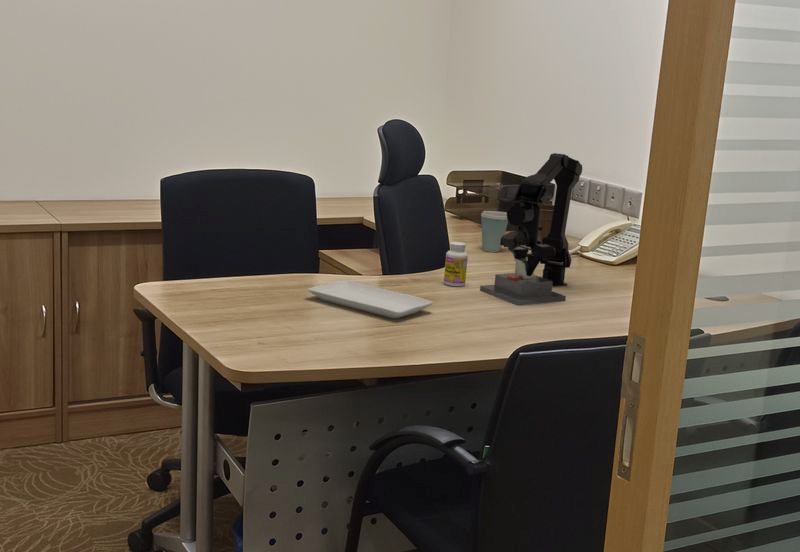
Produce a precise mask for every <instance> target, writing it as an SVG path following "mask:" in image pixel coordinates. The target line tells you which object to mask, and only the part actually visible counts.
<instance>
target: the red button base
mask: <svg viewBox="0 0 800 552" xmlns="http://www.w3.org/2000/svg"><path fill="white" fill-rule="evenodd" d="M552 284H553V281H551V280H548V279H545V278H542V276H539V275H535V274H534V279H530V280H521V279H519V277H516V276H515V272H512V273H497V274H495V278H494V284H488V285H487V284H486V285H480V286H479V291H480V292H482V293H485V294H487V295H489V296H492V297H496V298H499V299H501V300H504V301H505V302H509V303H511V304H513V305H516V306H525V305H537V304H538V305H539V304H546V303H558V302H566V299H567V298H566V295H564V294H562V293H558V292H555V291H553V286H552Z"/></svg>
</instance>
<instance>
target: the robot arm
mask: <svg viewBox="0 0 800 552" xmlns="http://www.w3.org/2000/svg"><path fill="white" fill-rule="evenodd" d="M582 173H583V165H582V163H580V161H579V160H578V159H577V160H576V159H574V158H572V157H570V156H569V155H567V154H565V153H564V154H563V153H556V152H554V153H551V154H550V155H549V158H548V159H547V160H546V161H545V162H544V164H543V165H542V166H541V168H540V169H538V171H537V172H536V173H535V174H530V175H527V176H526V177H525V178H523V179H522V181H521V182H520V184H519V185H518V188H517V190H516V193H515V195H514V197H513V200H512V201H513V205H512V206H511V207H510V208H508V210H507V212H506V213H507V219H508V223H509V224H510V225H512V226H514V227H515V230H513V231H510V232H507V233H505V235H503V236H502V238H501V242H500V245H502V246H503V247H504V248H507V249H508V251H510V252H511V253H512V255H513V257H514V258H513V259H514V260H515V259H517V258H528V266H527V276H531V275H532V273H533V272H534V273H535V270H536V269H537V267H538V265H539V264H540V265H543V266H544V267H543V269H542V276H541V277H542V278H545V279H548V280H551V281H553V284H552V287H560V286H567V285H568V283H566V282H565V275H566V269H567V268H571V264H572V258H571V253H570V252H569V242H568V239H567V237H566V228H567V222H568V217H569V211H570V204H571V198H572V192H573V189H574V188H575V187H576V185H577V184H578V182H579V181H580V178H581V177H580V176H581V175H582ZM553 180H554V181H553ZM552 181H553V182H554V183H555V185H556V191H555V198H554V202H553V203H554V204H553V205H554V208H553V215H552V221H551V227H550V232H549V234H548V235H547V236H546V237H544V238H543V239H542V244H541V241H540V240H538V234H539V230H542V227H540V226H539V224H540V215H541V207H542V206H543V204H544V201H545V198H546V197H547V195H548V193H549V185H550V184H551V183H552ZM537 244H541V245H537ZM529 246H531V247H529Z"/></svg>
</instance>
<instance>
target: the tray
mask: <svg viewBox="0 0 800 552" xmlns="http://www.w3.org/2000/svg"><path fill="white" fill-rule="evenodd" d="M306 291H308V292H309V293H311V295H313V296H315V297H317V298H320V299H321V300H322V301H324V302H329V303H333V304H337V305H340V306H343V307H348V308H351V309H356V310H360V311H363V312H367V313H369V314H370V313H371V314H375V315H379V316H381V317H386V318H391V319H399V318H403V317H406V316H410V315H414V314H416V313H419V312H420V311H422V310H425V309H427V308H429V307H430V306H432V305H433V304H434V301H432V300H429V299H426V298H423V297H418V296H414V295H409V294H406V293H402V292H397V291H392V290H390V289H384V288H381V287H377V286H372V285H370V284H369V285H368V284H366V283H365V284H364V283H359V282H356V281H352V280H349V279H348V280H347V279H342V280H341V279H340V280H338V281H334V282H329V283H324V284H321V285H317V286H316V285H315V286H313V287H308V288H307V289H306Z"/></svg>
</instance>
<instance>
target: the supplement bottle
mask: <svg viewBox="0 0 800 552" xmlns="http://www.w3.org/2000/svg"><path fill="white" fill-rule="evenodd" d="M449 243H450V244H449V247H450V250H448V251H447V252H446V253H445V263H444V264H445V265H444V272H443V273H444V275H443V284H444V285H445V286H448V287H449V286H450V287H456V288H457V287H458V288H459V287H463V286H465V284H466V279H467V266H468V260H469V259H468V257H469V255H468V253H467V251H465V250H466V245H467V244H466V243H465V242H461V241H460V242H459V241H451V242H449Z"/></svg>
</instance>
